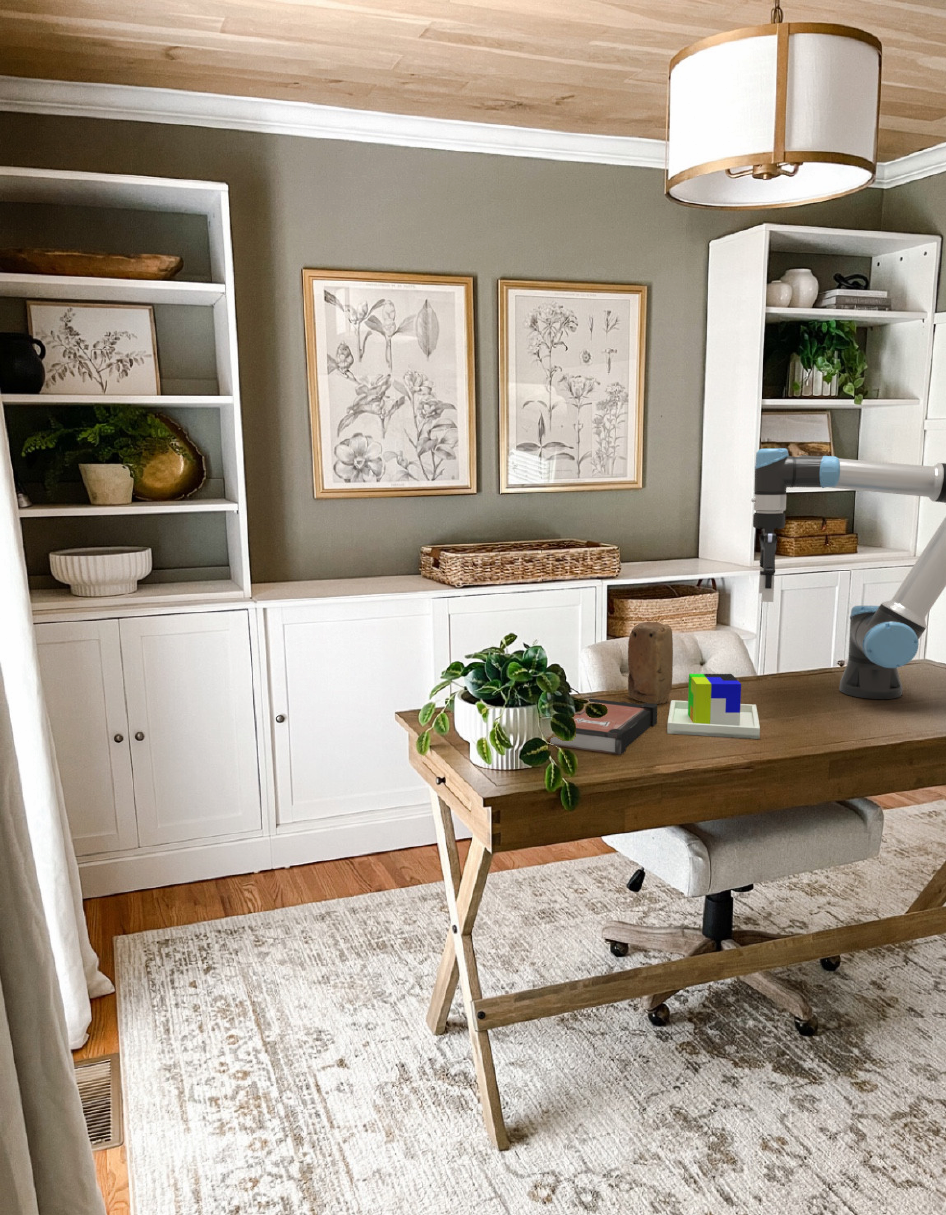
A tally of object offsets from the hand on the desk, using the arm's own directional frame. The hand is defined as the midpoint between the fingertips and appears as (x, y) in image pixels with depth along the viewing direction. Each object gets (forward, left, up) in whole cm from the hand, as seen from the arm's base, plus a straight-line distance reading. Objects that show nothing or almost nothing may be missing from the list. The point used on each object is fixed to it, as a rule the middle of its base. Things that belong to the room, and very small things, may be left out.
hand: (765, 597), depth 236 cm
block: (+28, +5, -27) cm, 39 cm away
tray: (+12, +23, -27) cm, 37 cm away
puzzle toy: (+12, +23, -26) cm, 37 cm away
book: (+36, +36, -27) cm, 58 cm away
